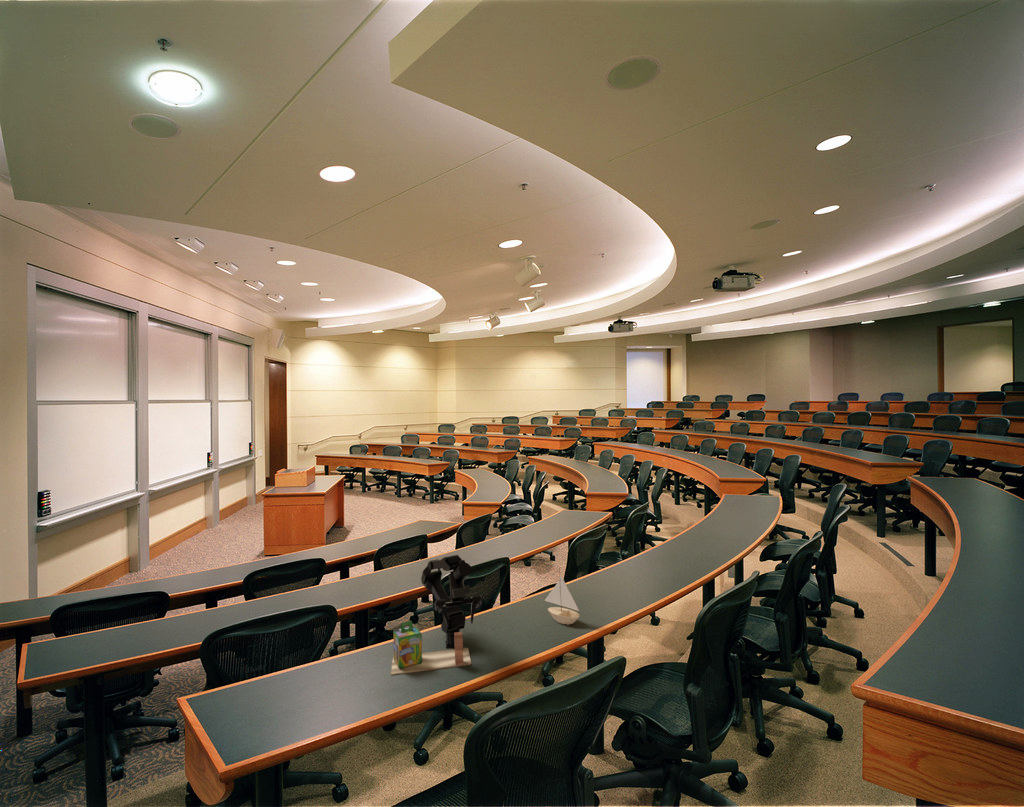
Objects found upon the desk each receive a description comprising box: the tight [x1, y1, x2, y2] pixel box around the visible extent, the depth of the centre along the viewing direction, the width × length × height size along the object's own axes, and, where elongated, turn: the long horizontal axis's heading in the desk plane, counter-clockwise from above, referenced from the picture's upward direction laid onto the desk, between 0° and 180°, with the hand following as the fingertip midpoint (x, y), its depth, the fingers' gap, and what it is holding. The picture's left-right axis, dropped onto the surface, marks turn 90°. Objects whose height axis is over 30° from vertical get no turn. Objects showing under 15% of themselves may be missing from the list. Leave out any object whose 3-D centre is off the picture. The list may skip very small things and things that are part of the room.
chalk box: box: [392, 620, 423, 669], centre depth 188 cm, size 9×9×15 cm
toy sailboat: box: [544, 566, 580, 626], centre depth 223 cm, size 21×25×9 cm
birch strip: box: [390, 631, 472, 676], centre depth 188 cm, size 14×30×12 cm, turn 101°
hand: (460, 625), depth 189 cm, fingers open, 9 cm apart
